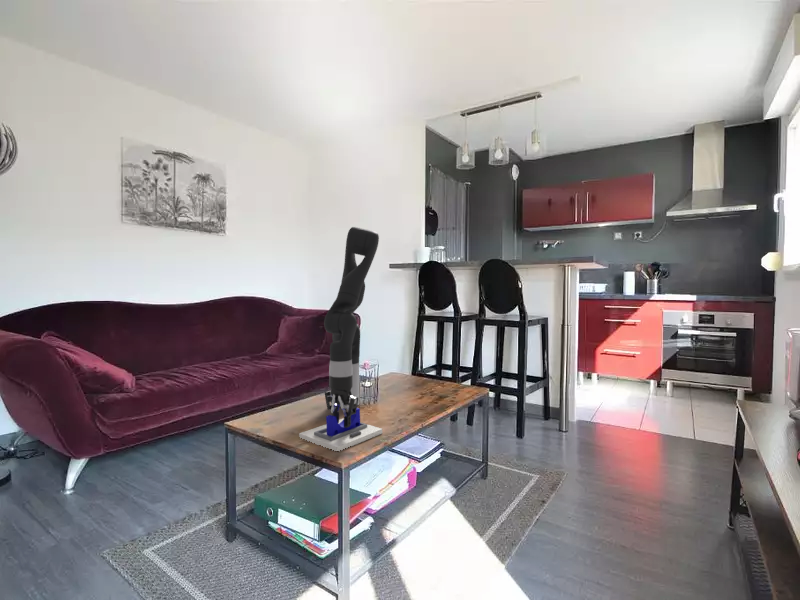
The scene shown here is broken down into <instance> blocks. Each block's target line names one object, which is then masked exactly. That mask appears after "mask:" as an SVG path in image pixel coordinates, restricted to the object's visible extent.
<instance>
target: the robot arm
mask: <svg viewBox="0 0 800 600" xmlns="http://www.w3.org/2000/svg"><path fill="white" fill-rule="evenodd" d="M345 241H346V242H345V252H344V253H345V254H344V262H343V273H342V277H341V281H340V282H341V284H340V285H339V290H338V293H337V296H336V299H335V300H334V302H333V303H332V305H331V307H330V308H329V309H328V310H327V313H326V315H325V317H324V319H323V325H324V326H323V327H324V330H325V331H326V332H327V333H329V334H332V342H330V346H329V367H328V370H329V373H328V375H329V377H328V378H329V379H328V381H329V382H328V383H329V384H328V385H329V389H330V390H328V391H324V397H325V398H324V399H325V402H326V403H325V404H326V409H327V410H328V411H330V412H331V415H332V416H335V417H336V419H337V423H339V420H340V412H339V410H340V409H341V410H342V412H343V418H344V427H345V428H347V427H350V425H351V415H353V414H356V409H357V408H358V406H359V405H360V356H361V355H360V351H361V350H360V348H361V328H360V326H359V324H358V321H357V317H356V316H355V314H353V313H355V311H356V310H357V309H358V308H359V307H360V306H361V304H363V300H364V295H365V290H366V282H365V279H366V278H367V276H368V272H370V271H369V270H370V269H371V266H372V264H373V261H374V259H375V256H376V252H377V250H378V247H379V242H380V235H379V233H378V232H377V231H374V230H369V229H365V228H361V227H356V226H352V227H350V228H349V230H348V233H347V235H346V240H345ZM356 255H359V256H364V257H363V259H362V261H361V262H360V263H359V264H358V265H357V261H356ZM352 409H353V410H352Z"/></svg>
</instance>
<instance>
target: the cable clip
mask: <svg viewBox="0 0 800 600" xmlns="http://www.w3.org/2000/svg"><path fill="white" fill-rule="evenodd" d="M352 410H353V409H352ZM325 419H326V420H325V421H326V424H327V435H329V436H334V435H337V434H340V433H342V432H345V431H348V430H350V429H353V428H356V427H358V426H360V422H361V408H359V407H357V409H356V414H353V415H351V425H350V427H347V428H345V427H344V419H343V418H342V419H343V421H342V422H341V423H339V424H338V423H337V419H336V417H335V416H332V414H329V415H326V417H325Z"/></svg>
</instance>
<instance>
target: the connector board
mask: <svg viewBox="0 0 800 600" xmlns="http://www.w3.org/2000/svg"><path fill="white" fill-rule="evenodd" d="M343 419H344V417H343V418H339V423H341V422H342V421H343ZM339 423H338V424H339ZM382 434H383V428H380V427H377V426H374V425H371V424H367V423H364V422H361V421H360V426H358V427H356V428H353V429H350V430H348V431H345V432H342V433H340V434H337V435H334V436H329V435H327V424H323V425H320V426H317V427H314V428H311V429H308V430H306V431H302V432H299V433H298V438H299V437H300V438H299V439H301V438H302V439H301V440H303V439H305V440H304V441H306V440H307V441H306V442H309V441H310V442H309V443H311V442H312V444H314V443H315V444H314V445H317V446H319V445H321V446H320V447H322V446H323V448H325V447H326V448H325V449H327V448H329V449H328V450H330V449H332V450H331V451H333V450H334V452H335V451H339V452H341V451H344V450H346V449H348V447H349V448H351V447H353V446H356V445H358V444H360V443H363V442H365V441H367V440H369V439H373V438H375V437H377V436H380V435H382ZM350 446H351V447H350ZM345 448H346V449H345ZM343 449H344V450H343ZM340 450H341V451H340Z"/></svg>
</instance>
